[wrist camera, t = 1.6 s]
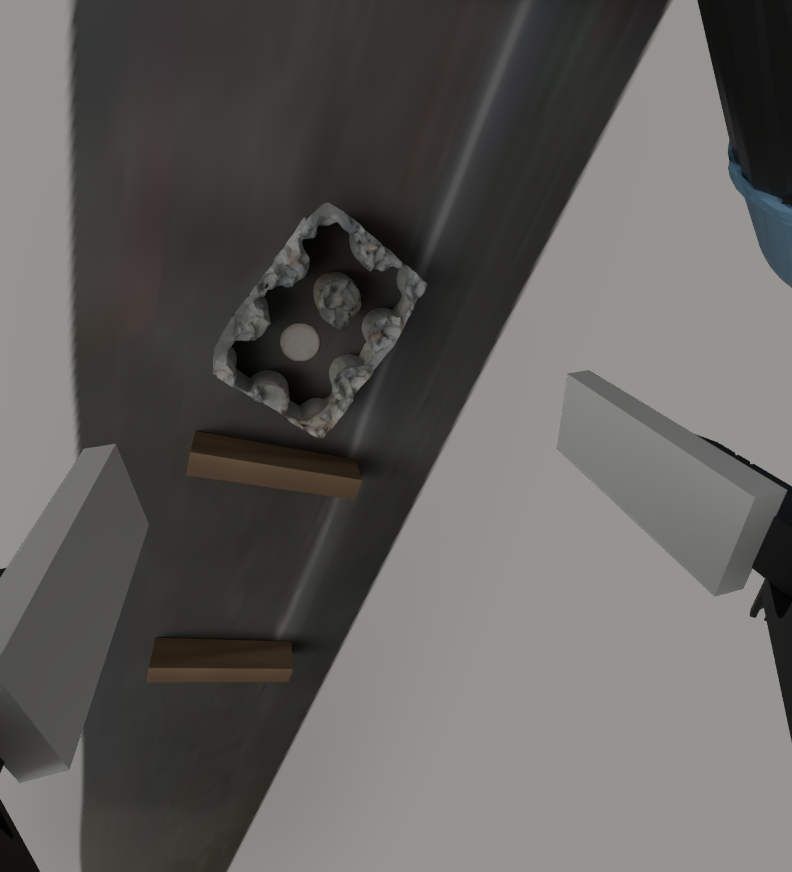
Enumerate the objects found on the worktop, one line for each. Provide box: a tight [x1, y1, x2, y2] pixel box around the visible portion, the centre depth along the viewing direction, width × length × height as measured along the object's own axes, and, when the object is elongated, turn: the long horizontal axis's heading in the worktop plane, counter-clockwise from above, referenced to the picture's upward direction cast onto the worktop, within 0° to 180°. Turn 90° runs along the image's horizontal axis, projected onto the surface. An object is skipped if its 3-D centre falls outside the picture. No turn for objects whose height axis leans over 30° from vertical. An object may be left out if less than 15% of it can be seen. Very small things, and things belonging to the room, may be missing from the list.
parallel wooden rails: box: [146, 431, 362, 682], centre depth 32 cm, size 19×10×2 cm, turn 160°
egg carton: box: [212, 202, 427, 440], centre depth 25 cm, size 11×8×4 cm
